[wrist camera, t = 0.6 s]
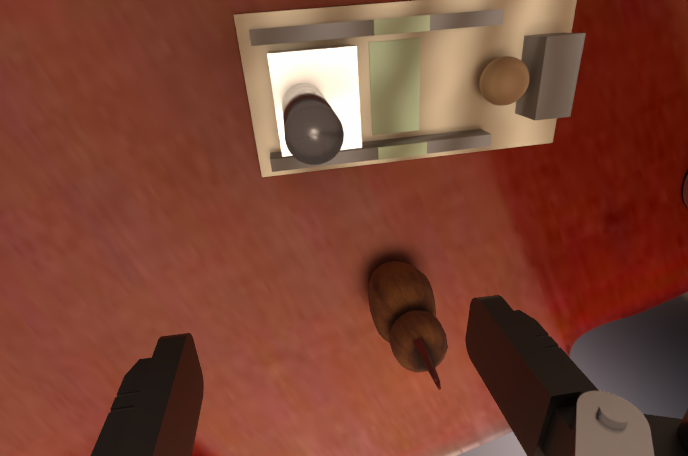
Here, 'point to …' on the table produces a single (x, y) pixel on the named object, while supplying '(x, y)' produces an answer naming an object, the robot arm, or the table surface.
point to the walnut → (504, 80)
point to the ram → (316, 101)
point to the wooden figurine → (407, 316)
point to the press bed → (422, 74)
